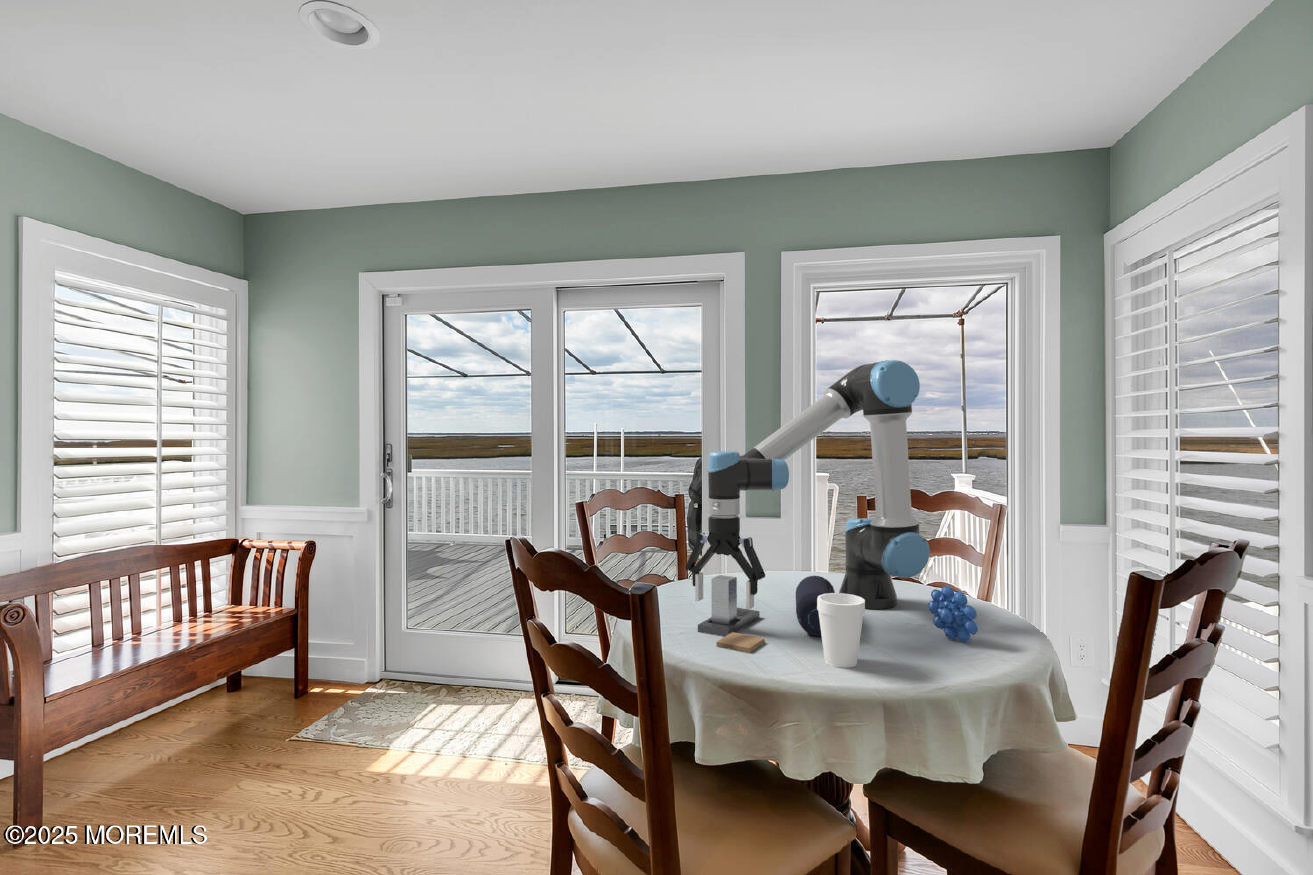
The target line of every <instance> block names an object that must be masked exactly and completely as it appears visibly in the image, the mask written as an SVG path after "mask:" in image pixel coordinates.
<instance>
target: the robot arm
mask: <svg viewBox="0 0 1313 875" xmlns="http://www.w3.org/2000/svg"><path fill="white" fill-rule="evenodd" d="M920 383H921V382H920V379H919V376H918V374H917V373H916V370H915V369H914V368H913V367H912V366H910V365H909V364H908V363H906V362H904V361H901V360H896V359H895V360H894V359H893V360H891V359H890V360H888V359H887V360H881V361H877V362H873V363H866V364H862V365H859V366H856V367H854V368H853V369H852V370H850V371H849V372H847V373H846V374H845V375H843V376H842V377H841V378H839V379H838V380H837V381H835V382H834V383H833V384H832V385H831V386H828V388H826V389H825V390H824V395H823V396H822V397H820V398H819V399H818V400H816V401H815V402H814V403H812V404H810V406H808V407H807V408H806V409H804V410H803V411H802V412H800V413H799V414H798V415H796V416H794V417H793V418H792V419H791V420H790V421H788V422H787V423H785V424H784V425H782V426H781V427H779V428H778V429H777V430H775V432H773V433H772V434H770V435H769V436H767V437H766V438H765V439H764V440H762V441H761V442H759V443H758V444H756V445H755V446H754V447H752V448H751V449H750V450H748V451H747V452H745V453H744V454H741V455H740V452H738V451H723V450H722V451H720V450H719V451H712V452H710V454H709V455H708V464H707V465H708V468H707V477H708V481H707V482H708V499H707V500H708V501H707V503H708V514H709V515H710V516H709V517H708V521H707V522H708V524H707V526H708V528H707V529H708V534H706V533H705V532H701V533H698V534H697V535H696V540H695V544H694V547H693V549H692V551H691V553H690V556H689V557H688V560H687V562H686V564H685V566H684V569H685V570H686V571H689V572H691V574H692V577H691V578H692V581H691V582H692V587H695V588H694V590H695V591H694V592H695V596H694V597H695V602H700V601H702V600H704V572H702V570H703V568H705V566H706V565H707V563H708V562H709V561H710V560H711V559H712V557H713V556H714V555H715V554H716V555H723V556H728V557H729V556H731V557H732V558H733V559H734V560H735V561H736V563H737V564H738V565H739V567H740V568H741V570H742V571H743V573H744V574H745V576H746V577H747V578H748V580H746V583H745V584H746V586H745V587H746V592H745V593H746V594H745V595H746V598H745V601H746V603H745V605H746V606H745V607H746V608H745V609H749V610H752V609H753V608H754V607H755V595H757V593H758V583H759V582H758V581H759V580H762V579H764V578H766V573H765V570H764V568H763V566H762V563H761V561H760V559H759V557H758V555H757V552H756V550H755V548H754V541H753V538H752V537H749V536H748V537H746V538H745V537H744V538H742V537H741V535H740V532H741V518H740V517H739V515H740V514H741V505H740V504H741V503H740V500H741V491H777V490H784V489H786V487H787V486H788V483H789V481H790V471H789V466H788V464H787V462H786V461H785V460H787V459H789V457H791V456H792V455H794V454H795V453H796V452H798V451H799V450H800V449H802V448H803V447H804V446H806V445H807V444H808V443H809V442H811V441H812V440H814V439H815V438H817V437H818V436H820V435H821V434H822V433H823V432H826V431H827V429H829V428H830V427H831V426H833V425H834V424H836V423H837V422H838V421H840V419H848V418H850V417H851V416H853V415H854V414H857V413H858V412H860V411H862V414H863V417H864V419H866V420H867V421H868V422H869V425H870V440H871V441H870V442H871V455H872V456H871V457H872V458H871V459H872V474H873V487H874V489H873V490H874V491H873V493H874V506H875V516H874V517H873V518H865V517H864V518H850V519H848V520H847V521H846V524H845V531H844V533H845V574H844V576H843V580H842V581H841V586H840V587H839V588H840V589H839V591H838V592H839V593H844V594H851V595H855V596H859V597H861V598H863V599H864V600H865V609H871V610H880V609H881V610H883V609H891V608H894V607H896V606H897V605H898V594H897V592H896V590H895V586H894V583H893V580H892V577H898V578H901V579H909V578H913V577H915V576H917V575H918V574H920V573H921V572H922V570H923V569H925V568H926V566H927V564H928V562H929V561H930V560H929V559H930V554H931V549H930V545H929V543H928V541H927V540H926V539H925V538H924V536H923V535H921V534H920V523H919V520H918V519H917V518H916V517H914V516H913V515H912V514H913V513H912V512H913V511H912V498H911V478H910V464H909V446H908V445H909V444H908V433H907V432H908V430H907V419H909V418H910V416H911V415H912V414H913V406H912V404H913V403H914V402H915V401H916V398H917V397H918V396H919V394H920V389H921V386H920V385H921V384H920ZM707 542H708V544H709V545H710V546H709V547H708V548H707V549H706V551H705V553H704V554H703V555H702V556H701V558H700V555H701V553H702V550H703V548H704V547H705V544H706V543H707ZM740 545H741V547H742V548H744V552H745V554H746V556H747V559H748V560H747V559H746V557H745V556H744V554H743V551H742V550H741V548H740V547H739V546H740ZM699 558H700V559H699ZM891 576H892V577H891Z"/></svg>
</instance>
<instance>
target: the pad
mask: <svg viewBox="0 0 1313 875" xmlns="http://www.w3.org/2000/svg"><path fill="white" fill-rule="evenodd" d="M765 639H766V638H765V637H760V636H757V635H750V634H744V633H739V632H736V633H735V632H732V633H730V634H728V635H727V636H723V637H722V638H720V639H719V640H718V641H716V647H717V646H721V647H720V648H722V647H725V648H724V649H727V648H730V649H729V650H732V649H734V650H733V651H737V650H738V652H743V653H749V654H751V653H752V652H753V651H755V650H756V649H758V648H759V647H760V646H762V645H764V644H765V641H766V640H765Z"/></svg>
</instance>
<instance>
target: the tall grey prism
mask: <svg viewBox="0 0 1313 875" xmlns="http://www.w3.org/2000/svg"><path fill="white" fill-rule="evenodd" d="M737 580H738V578H737V577H736V576H730V575H722V574H718V575H716V576H715V577H712V578H711V617H712V623H714V624H720V625H726V626H732V625H733V624H735V623H737V608H738V606H737V604H738V602H737V601H738V592H737V591H738V589H737V588H738V581H737Z"/></svg>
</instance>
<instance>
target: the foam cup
mask: <svg viewBox="0 0 1313 875" xmlns="http://www.w3.org/2000/svg"><path fill="white" fill-rule="evenodd" d="M817 610H818V612H819V620H820V627H821V635H822V636H821V642H822V650H823V657H824V661H825V663H826V664H827V665H830V666H832V667H836V668H846V669H847V668H853V667H855V666H857V663H858V657H859V649H860V643H861V642H860V641H861V635H862V628H863V620H864V615H865V612H866V608H865V600H864V599H863V598H861V597H859V596H855V595H851V594H844V593H838V592H835V593H828V594H822V595H819V596H818V598H817Z"/></svg>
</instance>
